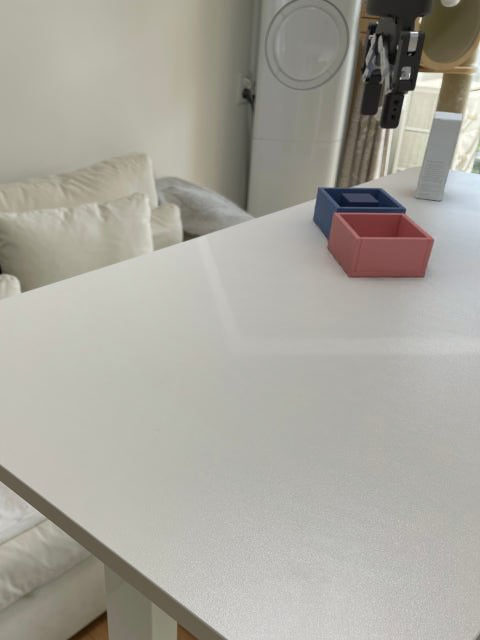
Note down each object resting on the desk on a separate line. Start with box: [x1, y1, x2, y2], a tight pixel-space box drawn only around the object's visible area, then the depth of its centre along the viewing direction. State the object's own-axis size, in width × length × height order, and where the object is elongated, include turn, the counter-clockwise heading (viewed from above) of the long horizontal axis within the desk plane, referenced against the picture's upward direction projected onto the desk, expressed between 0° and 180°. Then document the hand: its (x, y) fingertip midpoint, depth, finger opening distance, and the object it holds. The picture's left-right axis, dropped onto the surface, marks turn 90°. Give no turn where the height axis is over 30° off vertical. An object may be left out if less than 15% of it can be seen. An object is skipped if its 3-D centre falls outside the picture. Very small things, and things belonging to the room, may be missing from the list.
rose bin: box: [326, 213, 435, 278], centre depth 80 cm, size 9×10×5 cm
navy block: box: [339, 193, 379, 207], centre depth 89 cm, size 4×4×4 cm
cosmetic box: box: [414, 110, 464, 202], centre depth 103 cm, size 6×4×12 cm
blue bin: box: [312, 186, 407, 241], centre depth 89 cm, size 9×10×5 cm
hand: (377, 121), depth 83 cm, fingers open, 8 cm apart
